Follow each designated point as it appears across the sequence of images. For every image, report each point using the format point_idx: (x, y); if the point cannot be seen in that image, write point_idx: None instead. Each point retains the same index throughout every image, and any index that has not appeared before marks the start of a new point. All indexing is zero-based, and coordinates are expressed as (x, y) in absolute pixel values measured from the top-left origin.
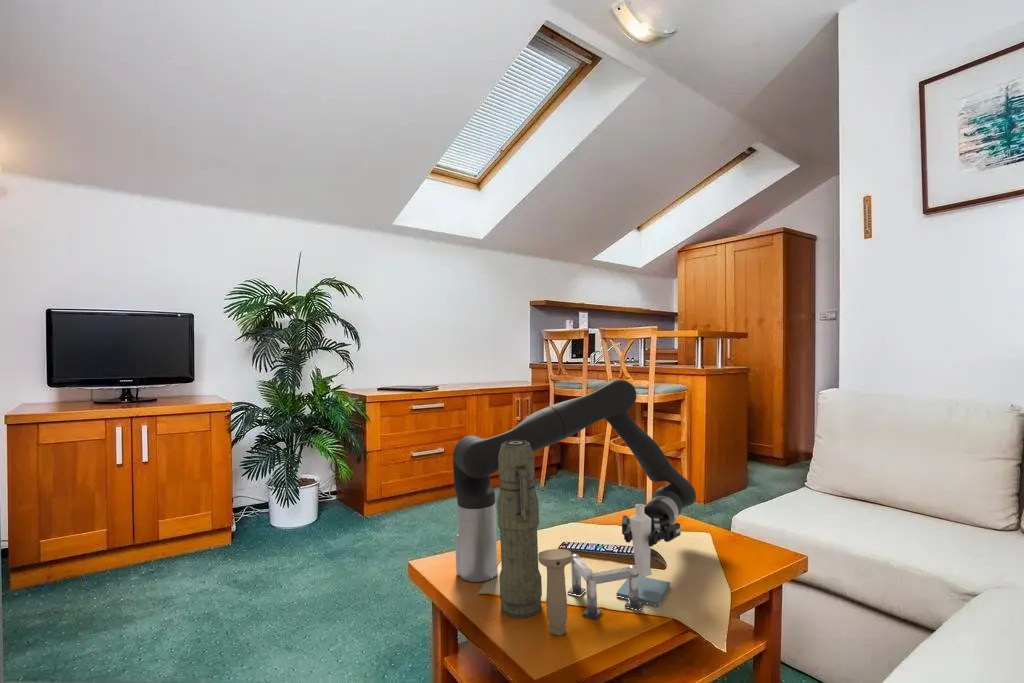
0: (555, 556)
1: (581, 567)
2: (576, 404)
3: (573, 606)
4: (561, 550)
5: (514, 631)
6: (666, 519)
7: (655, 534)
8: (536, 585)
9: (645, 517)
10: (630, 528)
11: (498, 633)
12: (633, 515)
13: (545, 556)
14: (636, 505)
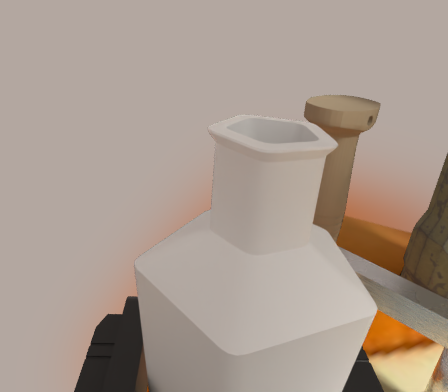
0: (334, 100)
1: (377, 267)
2: None
3: (364, 349)
4: (349, 109)
5: (373, 242)
6: None
7: (103, 380)
8: (416, 233)
9: (190, 228)
10: (348, 376)
11: (386, 233)
12: (322, 239)
13: (351, 98)
14: (310, 136)
